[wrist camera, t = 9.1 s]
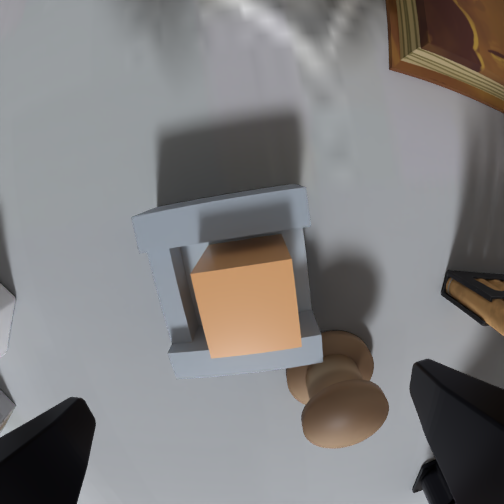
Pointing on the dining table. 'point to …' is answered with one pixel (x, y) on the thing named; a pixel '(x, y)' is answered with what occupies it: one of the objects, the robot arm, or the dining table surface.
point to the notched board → (190, 251)
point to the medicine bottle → (5, 317)
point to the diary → (450, 45)
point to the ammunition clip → (477, 296)
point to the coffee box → (5, 409)
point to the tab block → (247, 297)
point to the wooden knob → (339, 393)
